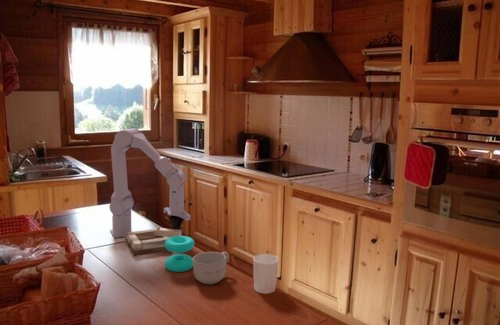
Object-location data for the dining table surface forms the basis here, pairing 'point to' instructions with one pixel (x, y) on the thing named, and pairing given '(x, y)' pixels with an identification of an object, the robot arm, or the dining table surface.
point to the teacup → (210, 266)
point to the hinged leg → (166, 232)
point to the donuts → (179, 260)
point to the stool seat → (145, 242)
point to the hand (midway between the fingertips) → (176, 233)
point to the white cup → (265, 273)
